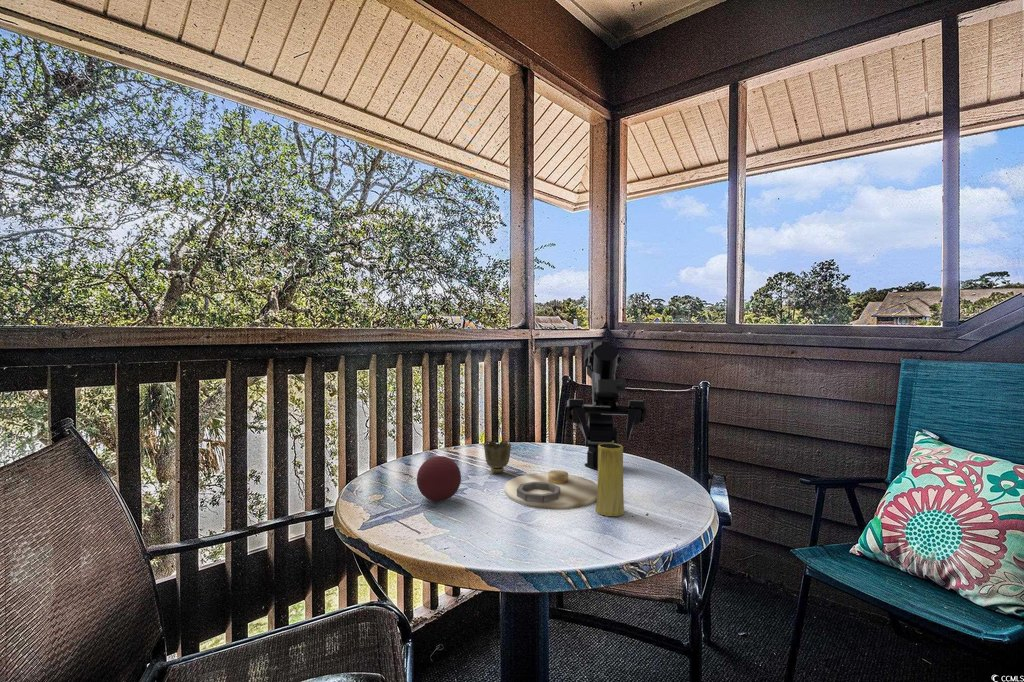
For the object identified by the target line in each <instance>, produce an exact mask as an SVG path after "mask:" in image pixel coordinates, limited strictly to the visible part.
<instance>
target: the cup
mask: <svg viewBox="0 0 1024 682" xmlns="http://www.w3.org/2000/svg"><path fill="white" fill-rule="evenodd" d="M483 447H484V457H485V462H486V464H487V466H489V468H490V472H491V473H492V474H495V475H496V474H497V475H498V474H503V473H504V471H505V467H507V466H508V464H509V461H510V457H511V456H510V455H511V448H512V443H511V442H508V441H506V440H505V441H502V440H500V442H498V443H497V441H495V440H494V441H493V440H490V441H489V443H488V441H486V442H485V443H483Z"/></svg>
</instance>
